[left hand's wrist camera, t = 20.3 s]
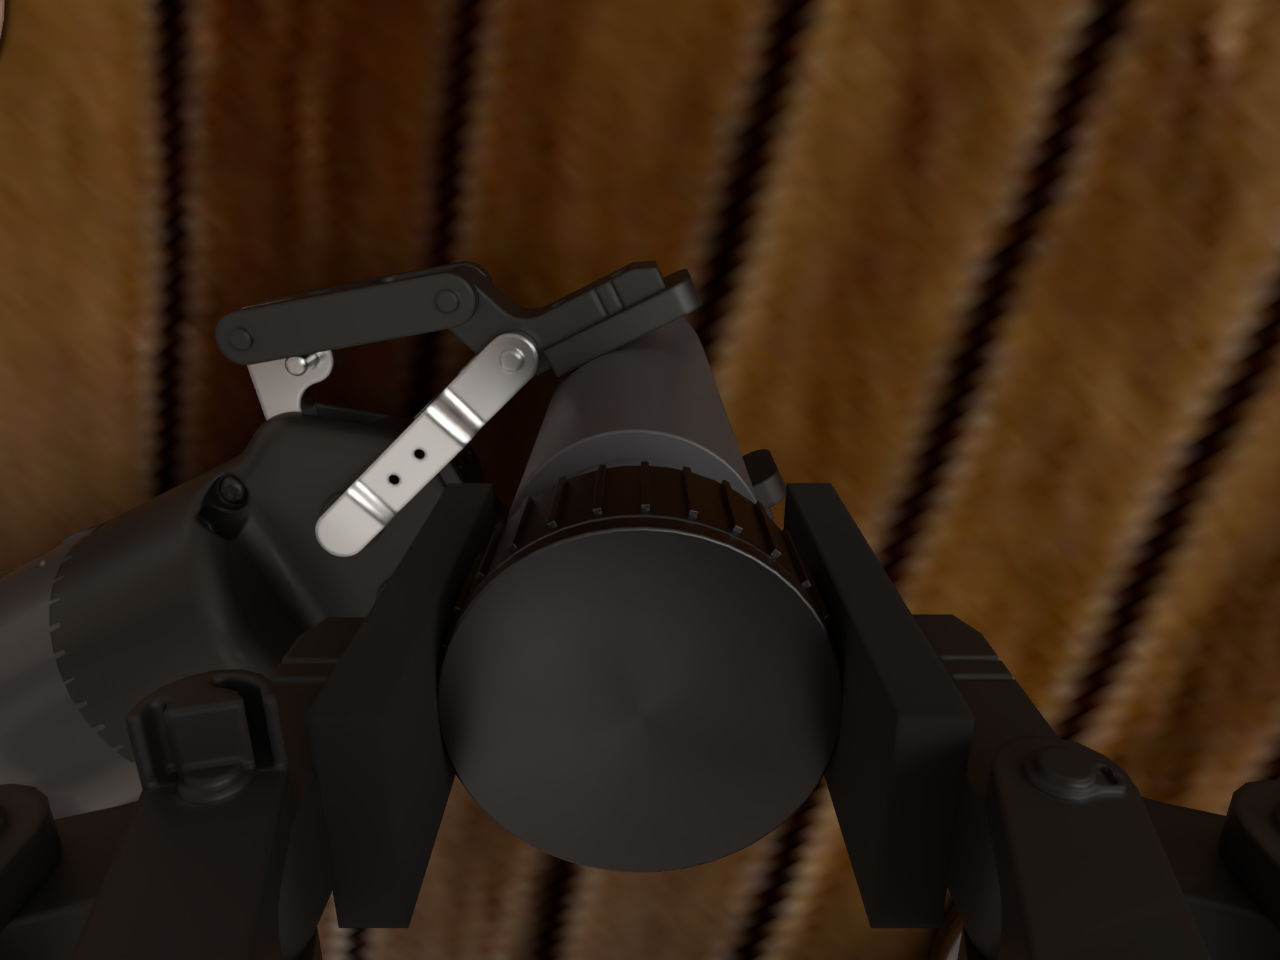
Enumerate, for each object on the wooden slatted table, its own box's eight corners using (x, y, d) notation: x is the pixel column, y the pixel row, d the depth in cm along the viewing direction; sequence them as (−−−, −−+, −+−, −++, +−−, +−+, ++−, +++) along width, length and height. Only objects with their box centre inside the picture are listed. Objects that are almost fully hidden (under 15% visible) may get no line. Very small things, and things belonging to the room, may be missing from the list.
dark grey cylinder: (668, 274, 26) (709, 419, 11) (728, 399, 27) (835, 674, 12) (541, 339, 26) (423, 555, 12) (607, 458, 28) (573, 782, 13)
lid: (634, 820, 14) (633, 937, 12) (393, 618, 12) (341, 709, 10) (886, 629, 12) (935, 721, 10) (646, 382, 11) (649, 430, 9)
